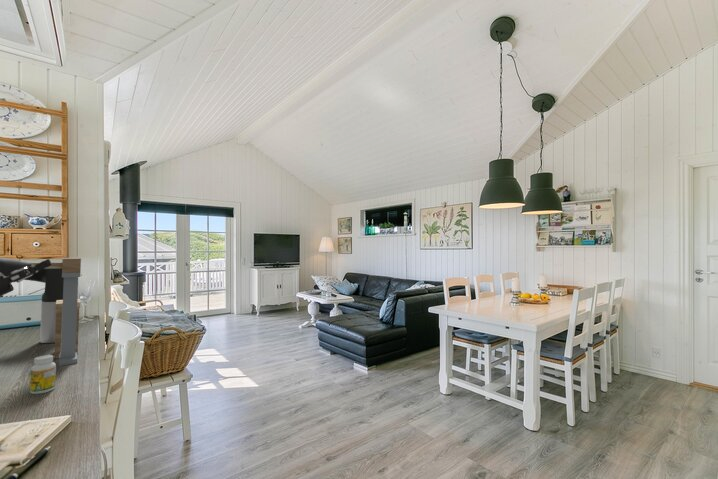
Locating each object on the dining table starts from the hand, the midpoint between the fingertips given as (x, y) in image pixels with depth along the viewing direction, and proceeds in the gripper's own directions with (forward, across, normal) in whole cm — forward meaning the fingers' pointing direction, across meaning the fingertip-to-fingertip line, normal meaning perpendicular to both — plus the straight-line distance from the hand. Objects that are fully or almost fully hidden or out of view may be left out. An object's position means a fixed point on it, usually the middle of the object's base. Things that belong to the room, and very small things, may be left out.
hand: (49, 262), depth 120 cm
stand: (-13, 0, -34) cm, 36 cm away
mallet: (0, 0, -4) cm, 4 cm away
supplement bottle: (-18, +28, -31) cm, 46 cm away
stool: (-13, -11, -34) cm, 38 cm away
